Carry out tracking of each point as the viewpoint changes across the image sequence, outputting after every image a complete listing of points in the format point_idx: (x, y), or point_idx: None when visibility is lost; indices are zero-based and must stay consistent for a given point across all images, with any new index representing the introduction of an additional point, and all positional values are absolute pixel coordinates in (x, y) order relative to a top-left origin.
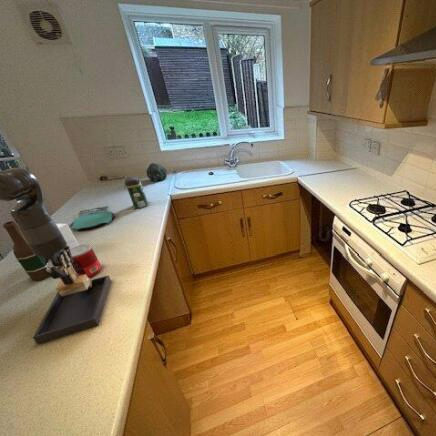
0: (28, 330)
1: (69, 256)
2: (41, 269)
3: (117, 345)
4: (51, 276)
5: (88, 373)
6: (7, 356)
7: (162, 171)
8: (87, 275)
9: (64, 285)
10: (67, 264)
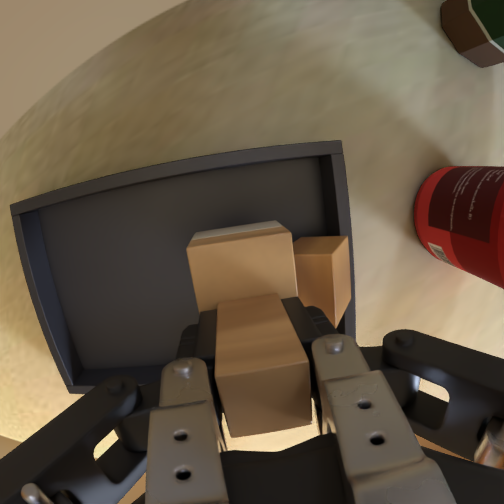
0: (110, 109)
1: (430, 438)
2: (479, 30)
3: (31, 421)
4: (60, 420)
5: None
6: (18, 124)
7: None
8: (420, 224)
9: (207, 297)
10: (321, 432)
